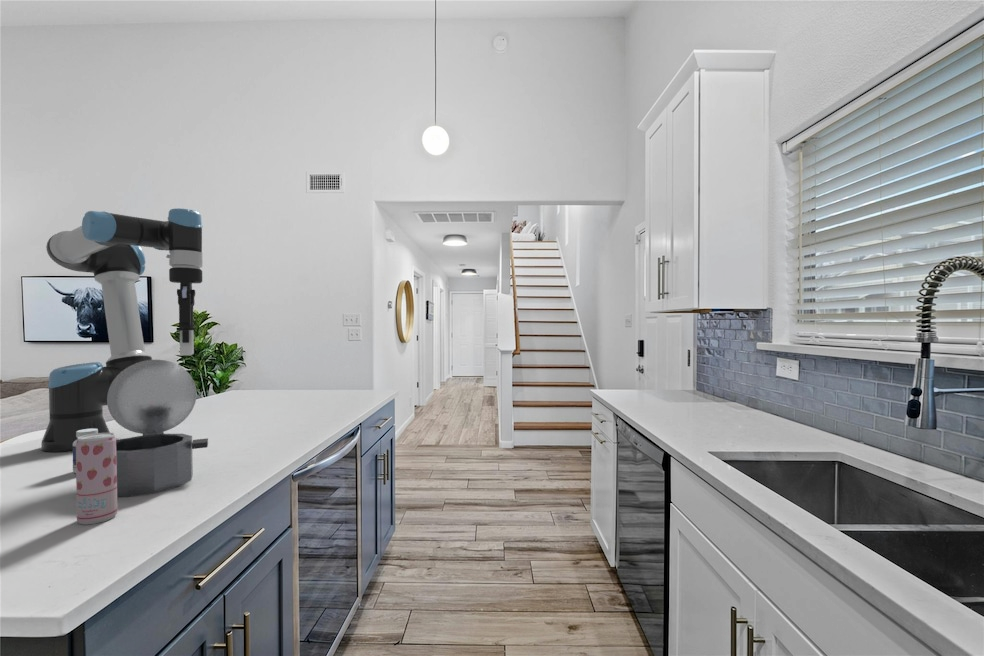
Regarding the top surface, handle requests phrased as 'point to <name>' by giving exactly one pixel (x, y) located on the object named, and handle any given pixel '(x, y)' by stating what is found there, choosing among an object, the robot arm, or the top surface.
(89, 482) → the beverage can
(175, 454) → the pot
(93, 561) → the top surface
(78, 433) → the pill bottle
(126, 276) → the robot arm
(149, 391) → the lid
